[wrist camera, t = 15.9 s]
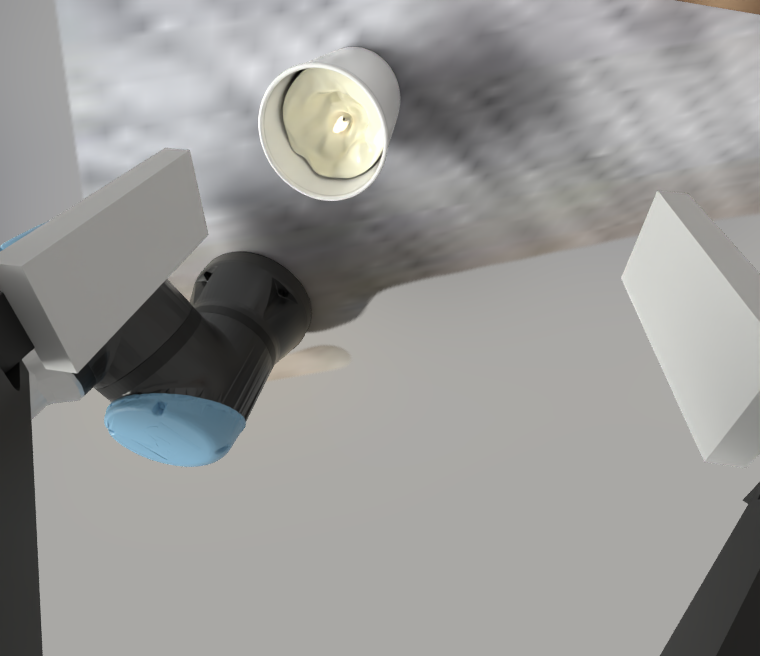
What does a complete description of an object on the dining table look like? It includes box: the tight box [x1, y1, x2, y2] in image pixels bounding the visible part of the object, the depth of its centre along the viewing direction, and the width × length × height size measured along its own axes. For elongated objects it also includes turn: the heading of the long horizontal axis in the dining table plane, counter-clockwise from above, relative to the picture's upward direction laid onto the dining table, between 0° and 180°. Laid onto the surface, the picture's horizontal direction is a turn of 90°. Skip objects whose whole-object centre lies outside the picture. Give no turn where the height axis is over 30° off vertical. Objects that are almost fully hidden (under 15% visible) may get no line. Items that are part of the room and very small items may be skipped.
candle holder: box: [258, 47, 400, 201], centre depth 39 cm, size 10×10×12 cm
